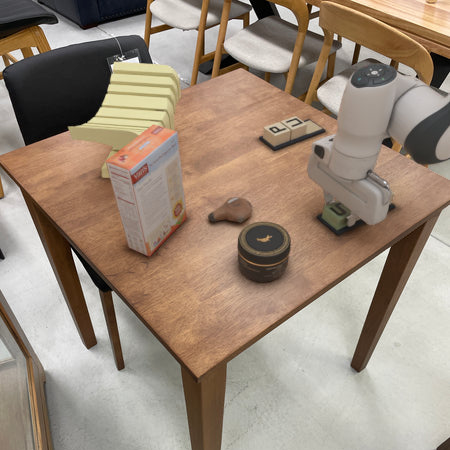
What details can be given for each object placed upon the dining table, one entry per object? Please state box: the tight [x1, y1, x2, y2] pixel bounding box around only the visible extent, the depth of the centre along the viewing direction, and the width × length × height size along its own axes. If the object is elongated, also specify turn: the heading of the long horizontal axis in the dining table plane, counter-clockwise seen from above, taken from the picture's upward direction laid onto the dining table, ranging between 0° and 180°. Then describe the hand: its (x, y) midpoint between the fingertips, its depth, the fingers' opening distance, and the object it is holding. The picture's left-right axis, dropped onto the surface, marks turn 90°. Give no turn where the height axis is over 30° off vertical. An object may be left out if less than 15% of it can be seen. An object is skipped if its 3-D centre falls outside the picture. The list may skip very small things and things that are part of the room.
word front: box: [315, 191, 396, 237], centre depth 95 cm, size 17×7×4 cm, turn 123°
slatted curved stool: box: [67, 61, 182, 179], centre depth 102 cm, size 30×16×18 cm, turn 172°
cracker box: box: [105, 124, 188, 257], centre depth 85 cm, size 14×6×21 cm, turn 149°
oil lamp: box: [207, 196, 253, 223], centre depth 95 cm, size 9×4×8 cm
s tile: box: [321, 200, 351, 230], centre depth 93 cm, size 5×5×3 cm
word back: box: [258, 115, 326, 152], centre depth 116 cm, size 17×7×4 cm, turn 123°
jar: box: [236, 221, 292, 283], centre depth 84 cm, size 10×10×8 cm
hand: (338, 215), depth 94 cm, fingers closed on s tile, 5 cm apart
